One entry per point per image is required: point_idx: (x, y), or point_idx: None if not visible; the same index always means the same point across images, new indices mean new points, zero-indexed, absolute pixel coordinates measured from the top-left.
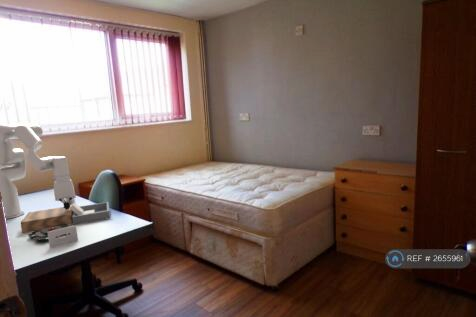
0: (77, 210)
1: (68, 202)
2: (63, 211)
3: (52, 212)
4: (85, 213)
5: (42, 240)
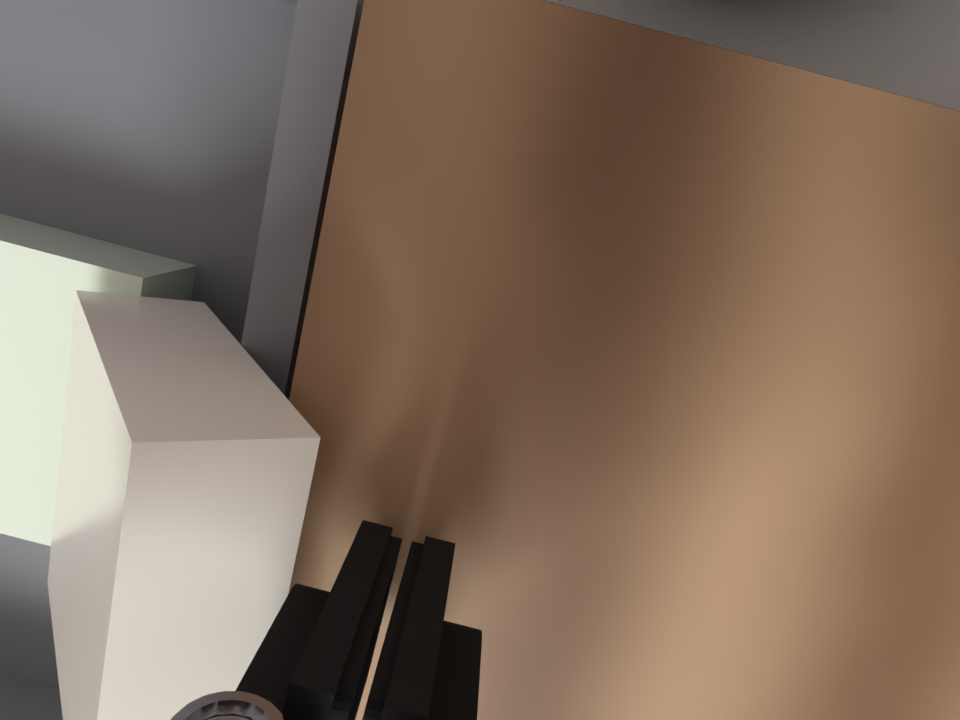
0: (139, 342)
1: (240, 697)
2: (518, 551)
3: (792, 707)
4: (30, 303)
5: None
